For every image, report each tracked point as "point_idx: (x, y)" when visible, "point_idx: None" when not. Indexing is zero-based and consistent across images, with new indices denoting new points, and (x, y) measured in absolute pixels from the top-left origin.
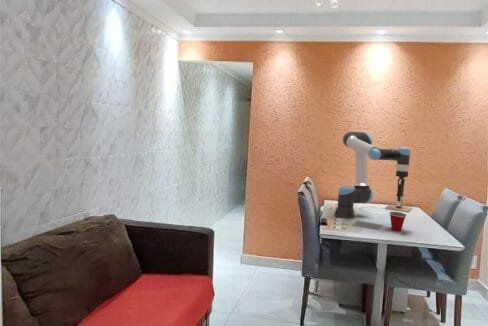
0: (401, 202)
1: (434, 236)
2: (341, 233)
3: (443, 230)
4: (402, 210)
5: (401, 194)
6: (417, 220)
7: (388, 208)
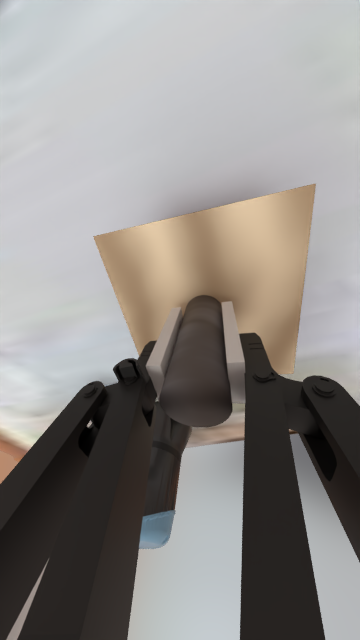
0: (207, 318)
1: (154, 54)
2: None
3: None
4: (305, 255)
5: (252, 394)
6: None
7: (293, 354)
